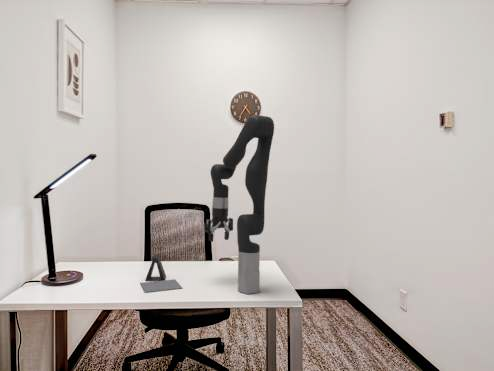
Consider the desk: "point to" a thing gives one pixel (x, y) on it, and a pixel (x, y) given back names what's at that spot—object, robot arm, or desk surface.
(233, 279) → the desk surface
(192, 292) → the desk surface
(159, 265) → the phone stand
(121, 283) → the desk surface
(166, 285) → the mat
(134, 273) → the desk surface
